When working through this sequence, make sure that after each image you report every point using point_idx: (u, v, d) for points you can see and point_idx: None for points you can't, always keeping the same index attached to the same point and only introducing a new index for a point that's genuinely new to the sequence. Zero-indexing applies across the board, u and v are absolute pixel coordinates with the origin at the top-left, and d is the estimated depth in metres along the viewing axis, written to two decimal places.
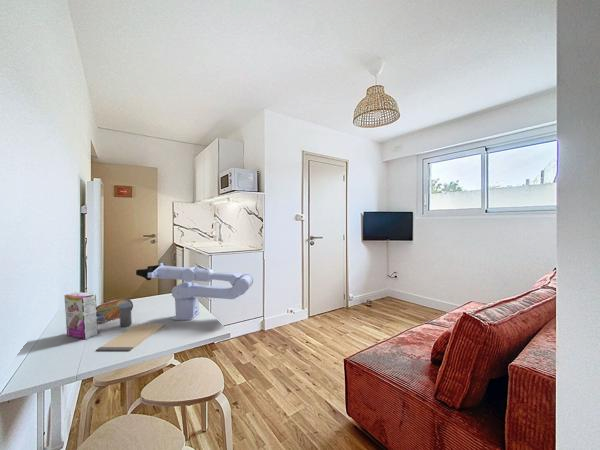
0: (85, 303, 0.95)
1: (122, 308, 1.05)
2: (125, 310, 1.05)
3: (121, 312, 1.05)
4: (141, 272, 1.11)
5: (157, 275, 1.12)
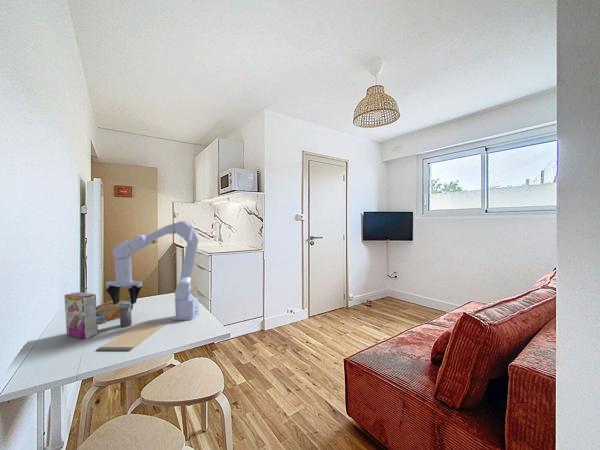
0: (85, 303, 0.95)
1: (122, 308, 1.05)
2: (125, 310, 1.05)
3: (121, 312, 1.05)
4: (134, 297, 1.06)
5: (132, 281, 1.07)
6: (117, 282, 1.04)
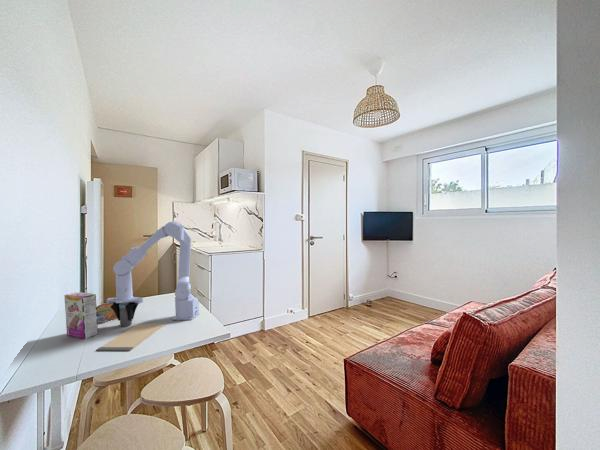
0: (85, 303, 0.95)
1: (122, 308, 1.05)
2: (125, 310, 1.05)
3: (121, 312, 1.05)
4: (131, 313, 1.07)
5: (133, 298, 1.08)
6: (118, 299, 1.04)
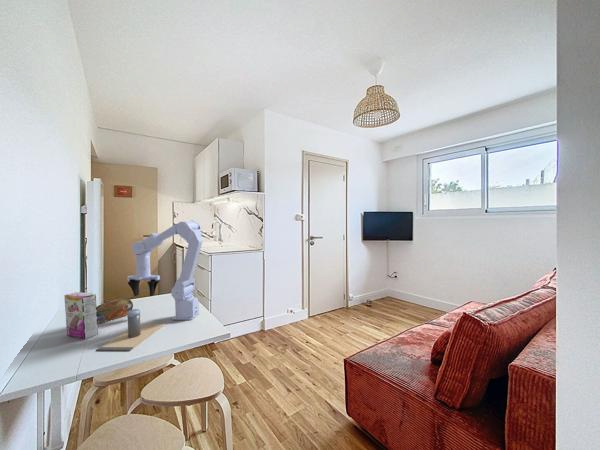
0: (85, 303, 0.95)
1: (130, 316, 0.95)
2: (134, 319, 0.95)
3: (129, 321, 0.95)
4: (152, 290, 1.17)
5: (150, 275, 1.18)
6: (138, 276, 1.15)
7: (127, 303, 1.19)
